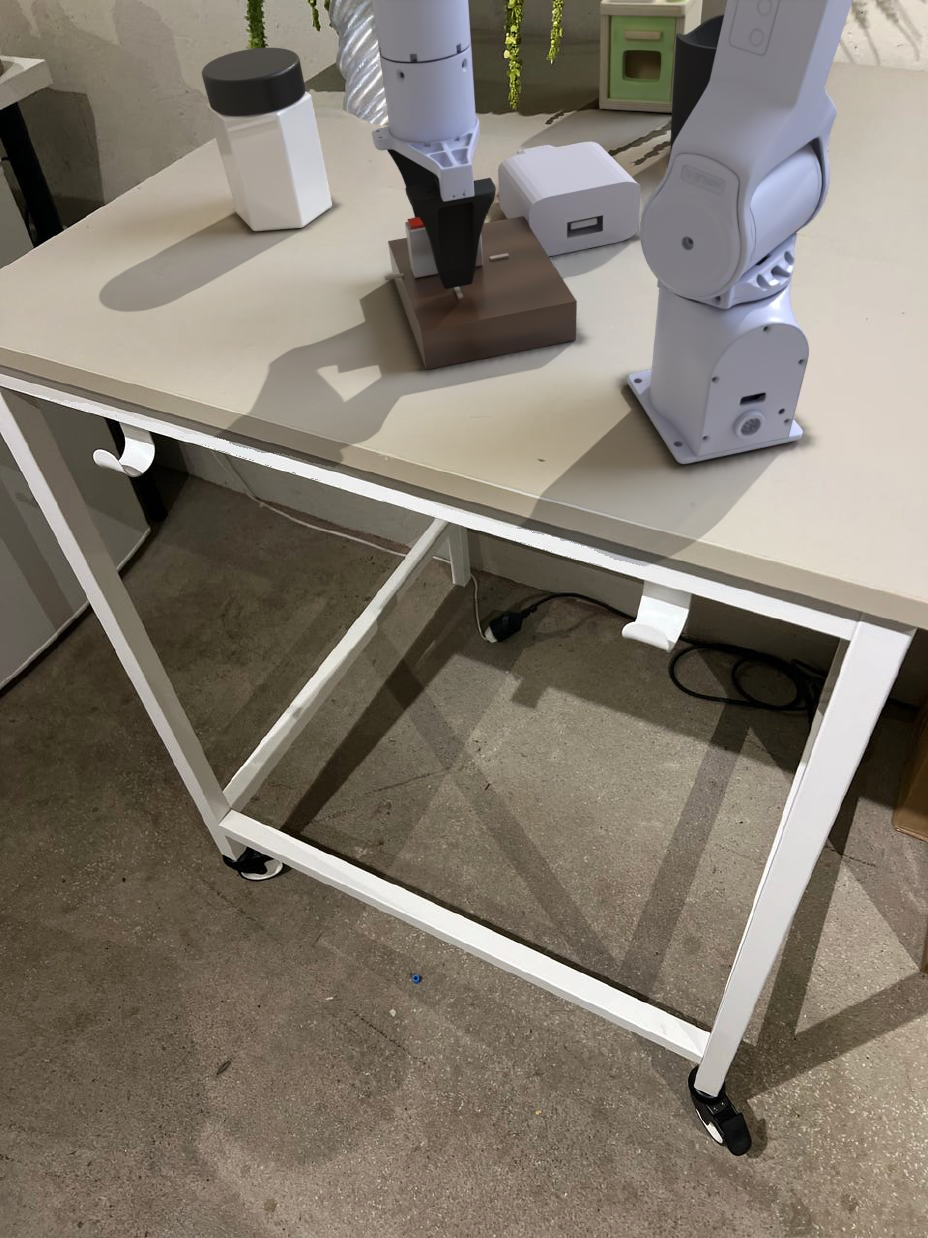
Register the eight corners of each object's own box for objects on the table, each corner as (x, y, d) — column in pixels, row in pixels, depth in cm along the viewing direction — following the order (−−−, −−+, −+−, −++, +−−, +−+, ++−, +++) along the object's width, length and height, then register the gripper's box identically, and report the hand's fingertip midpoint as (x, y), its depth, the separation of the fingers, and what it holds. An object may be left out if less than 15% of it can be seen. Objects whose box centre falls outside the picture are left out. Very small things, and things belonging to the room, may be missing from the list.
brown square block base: (576, 340, 62) (577, 298, 60) (409, 373, 61) (403, 332, 59) (524, 252, 71) (523, 213, 69) (378, 279, 70) (372, 241, 68)
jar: (337, 187, 82) (310, 42, 73) (327, 227, 77) (297, 75, 68) (245, 195, 83) (206, 51, 74) (229, 234, 78) (185, 85, 69)
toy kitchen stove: (594, 111, 90) (599, -45, 80) (616, 85, 94) (622, -66, 84) (676, 117, 87) (691, -44, 77) (694, 90, 91) (711, -66, 81)
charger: (576, 168, 81) (637, 238, 71) (481, 187, 80) (530, 260, 70) (577, 113, 77) (642, 178, 67) (477, 132, 76) (528, 200, 66)
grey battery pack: (478, 255, 65) (475, 205, 62) (483, 265, 64) (480, 214, 61) (410, 268, 65) (404, 218, 62) (414, 278, 63) (408, 227, 61)
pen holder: (657, 141, 83) (666, 19, 76) (755, 131, 83) (775, 7, 75) (676, 182, 77) (689, 54, 70) (782, 172, 77) (807, 41, 69)
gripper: (346, 25, 58) (377, 227, 68) (379, 97, 48) (411, 319, 59) (448, 8, 59) (464, 211, 69) (502, 76, 49) (511, 299, 59)
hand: (446, 259), depth 64 cm, fingers open, 7 cm apart
